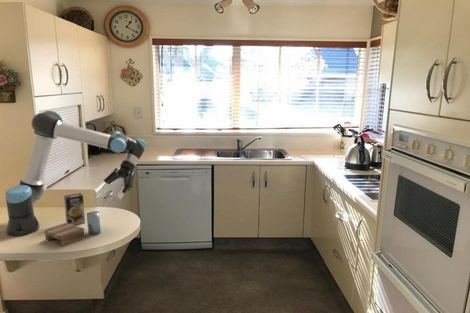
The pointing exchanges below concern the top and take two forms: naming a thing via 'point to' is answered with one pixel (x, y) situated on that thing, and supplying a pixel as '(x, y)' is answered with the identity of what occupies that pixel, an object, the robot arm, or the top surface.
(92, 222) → the clear cup
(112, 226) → the top surface
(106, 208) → the top surface
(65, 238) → the walnut shelf
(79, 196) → the coffee box
